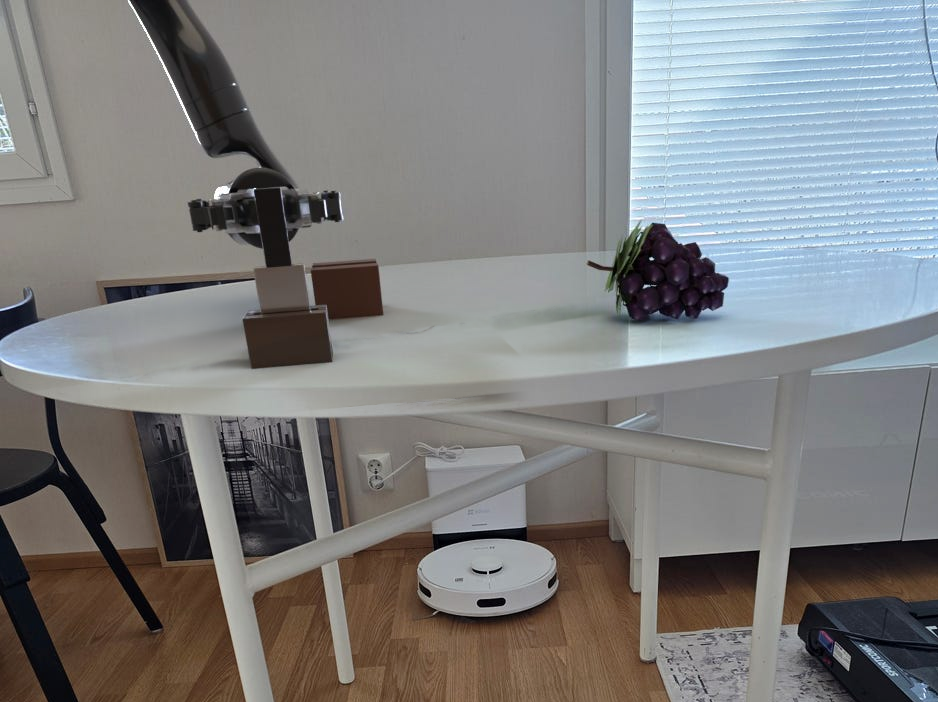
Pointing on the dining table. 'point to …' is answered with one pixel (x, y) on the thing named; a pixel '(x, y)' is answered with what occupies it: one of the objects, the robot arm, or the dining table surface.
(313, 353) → the knife block
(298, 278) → the knife
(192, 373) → the dining table surface
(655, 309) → the fruit
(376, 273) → the slotted brown box
